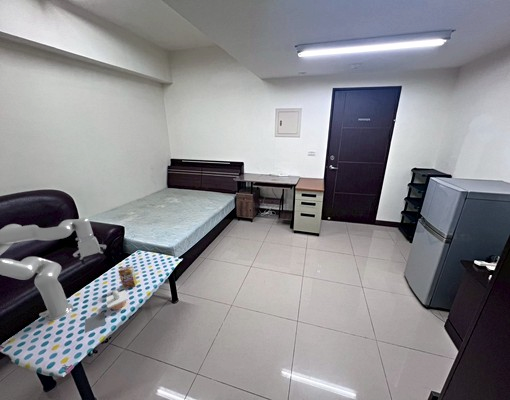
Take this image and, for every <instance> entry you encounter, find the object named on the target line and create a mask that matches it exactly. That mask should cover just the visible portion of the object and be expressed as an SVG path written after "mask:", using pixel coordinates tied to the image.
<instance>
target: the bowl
mask: <svg viewBox="0 0 510 400" xmlns="http://www.w3.org/2000/svg"><path fill="white" fill-rule="evenodd" d="M126 303H127V301H124V302H122V303H120V304H117V305H115V306H112V307H110V308H111V310H112V311H113V310H114V311H115V310H119V309H121V308H123V307H125V305H126Z"/></svg>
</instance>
